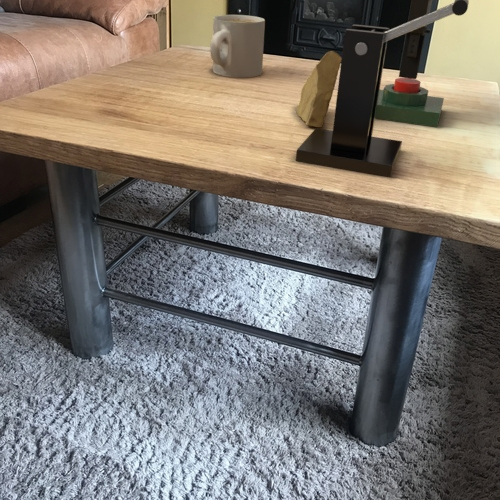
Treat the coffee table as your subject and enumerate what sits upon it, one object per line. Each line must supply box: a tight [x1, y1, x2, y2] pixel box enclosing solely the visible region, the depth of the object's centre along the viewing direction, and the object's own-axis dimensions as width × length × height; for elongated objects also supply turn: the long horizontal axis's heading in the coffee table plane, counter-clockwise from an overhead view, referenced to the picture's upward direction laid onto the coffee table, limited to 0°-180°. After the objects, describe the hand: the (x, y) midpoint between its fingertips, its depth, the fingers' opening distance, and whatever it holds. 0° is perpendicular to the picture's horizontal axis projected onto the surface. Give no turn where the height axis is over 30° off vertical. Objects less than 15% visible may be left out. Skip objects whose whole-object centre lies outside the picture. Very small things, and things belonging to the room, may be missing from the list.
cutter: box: [295, 24, 403, 178], centre depth 70 cm, size 12×10×16 cm
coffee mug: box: [209, 14, 266, 79], centre depth 109 cm, size 13×10×10 cm
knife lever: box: [372, 0, 470, 43], centre depth 64 cm, size 13×5×2 cm, turn 70°
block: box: [375, 83, 445, 128], centre depth 91 cm, size 12×10×4 cm
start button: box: [393, 77, 421, 93], centre depth 90 cm, size 4×4×2 cm
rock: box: [295, 50, 342, 129], centre depth 86 cm, size 11×9×10 cm
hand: (407, 76), depth 90 cm, fingers closed
